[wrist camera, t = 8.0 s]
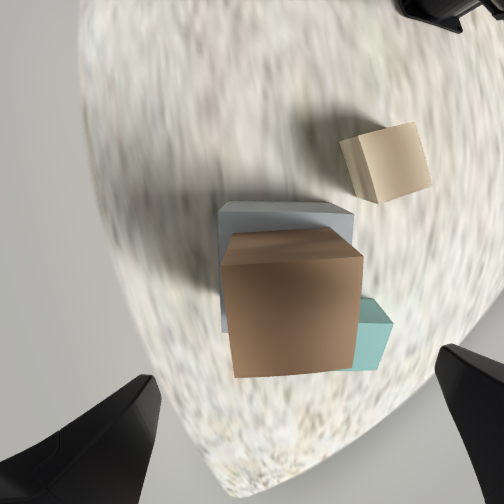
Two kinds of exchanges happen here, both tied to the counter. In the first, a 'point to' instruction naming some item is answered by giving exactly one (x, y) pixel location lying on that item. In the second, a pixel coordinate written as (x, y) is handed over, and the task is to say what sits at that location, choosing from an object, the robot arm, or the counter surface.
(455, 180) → the counter surface
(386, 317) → the teal cube
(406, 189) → the maple cube
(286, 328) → the walnut cube
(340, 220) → the grey cube
